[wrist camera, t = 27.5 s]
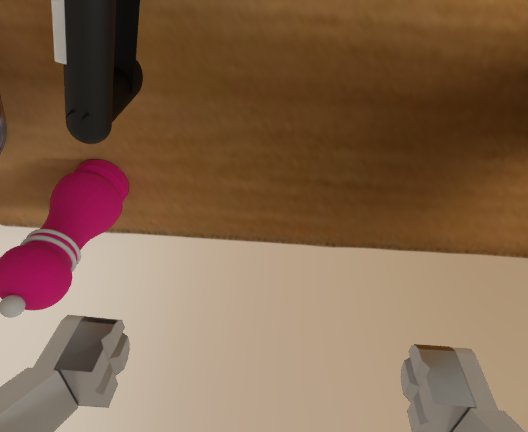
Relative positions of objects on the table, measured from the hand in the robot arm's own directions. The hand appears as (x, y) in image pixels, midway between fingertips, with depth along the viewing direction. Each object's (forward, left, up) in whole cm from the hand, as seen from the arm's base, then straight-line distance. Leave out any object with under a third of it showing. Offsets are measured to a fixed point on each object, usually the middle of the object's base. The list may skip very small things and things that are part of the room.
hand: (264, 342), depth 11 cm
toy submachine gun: (+11, -6, -32) cm, 35 cm away
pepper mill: (+20, +15, -32) cm, 41 cm away
